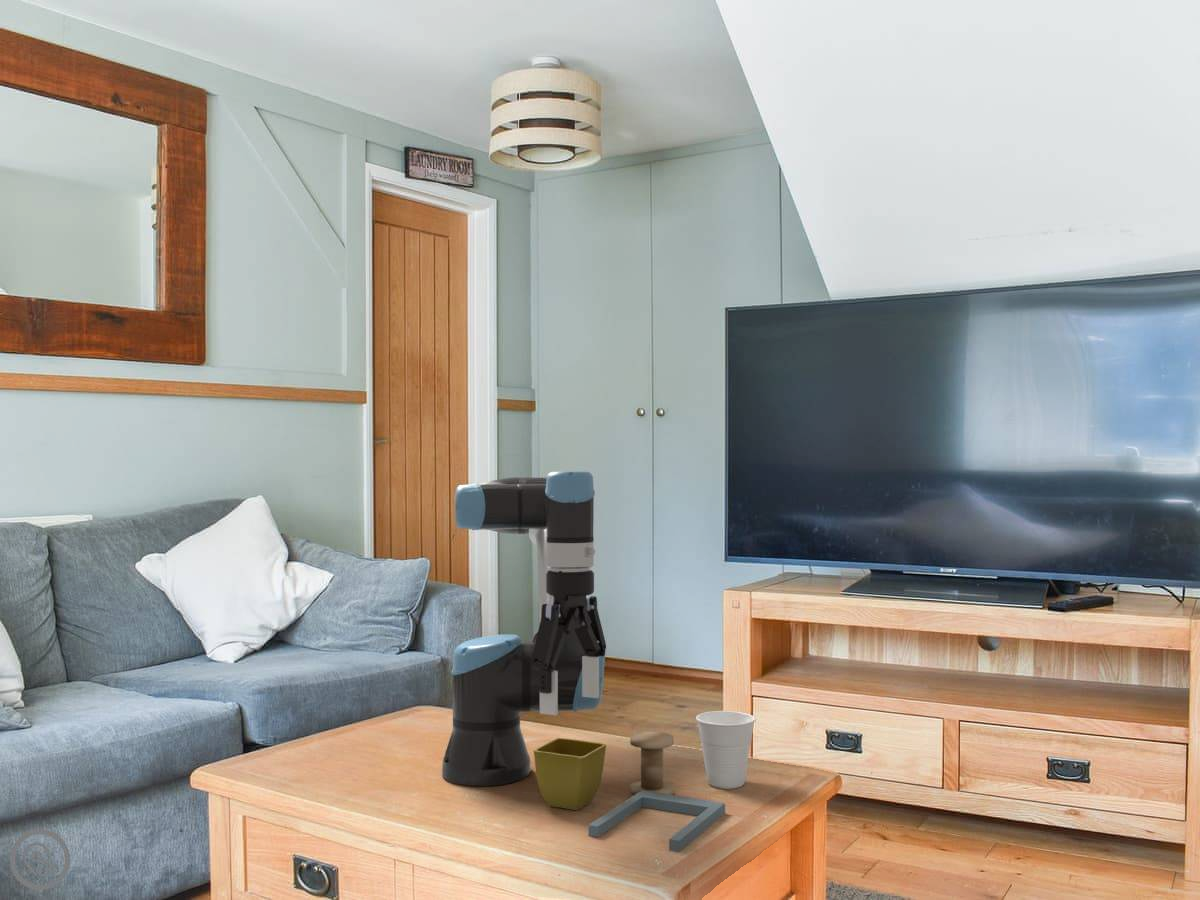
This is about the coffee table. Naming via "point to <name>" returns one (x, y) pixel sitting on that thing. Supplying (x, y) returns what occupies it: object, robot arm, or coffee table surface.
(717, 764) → the cup
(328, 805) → the coffee table surface
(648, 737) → the bobbin
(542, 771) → the flower pot
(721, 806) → the blue-grey u-shaped bracket
